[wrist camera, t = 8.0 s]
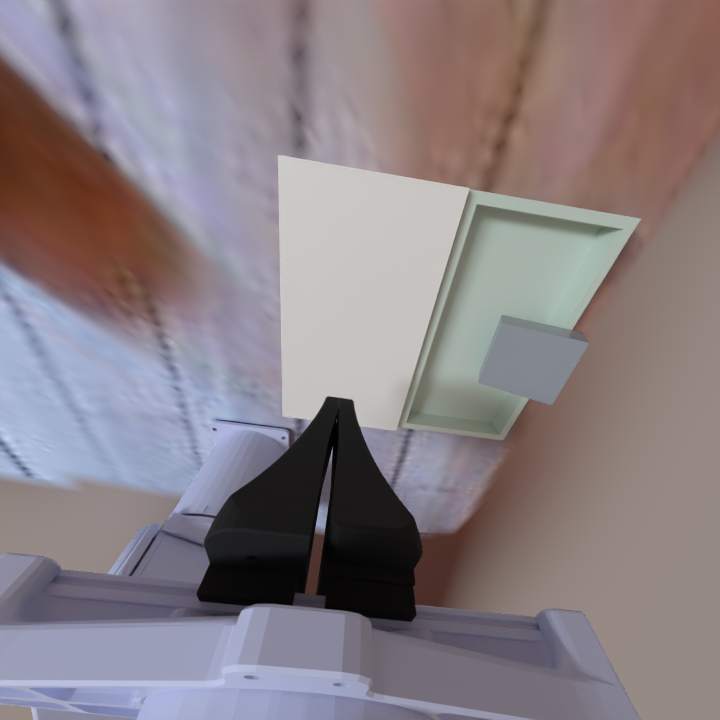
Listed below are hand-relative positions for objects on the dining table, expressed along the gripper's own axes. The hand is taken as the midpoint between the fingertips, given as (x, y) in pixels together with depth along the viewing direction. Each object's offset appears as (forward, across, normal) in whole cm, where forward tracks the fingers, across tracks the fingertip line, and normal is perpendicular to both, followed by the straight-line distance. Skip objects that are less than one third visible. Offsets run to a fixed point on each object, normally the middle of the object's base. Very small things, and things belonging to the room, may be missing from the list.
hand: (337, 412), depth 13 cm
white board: (+9, 0, -2) cm, 9 cm away
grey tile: (+6, -12, -2) cm, 14 cm away
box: (+9, -10, -2) cm, 14 cm away
